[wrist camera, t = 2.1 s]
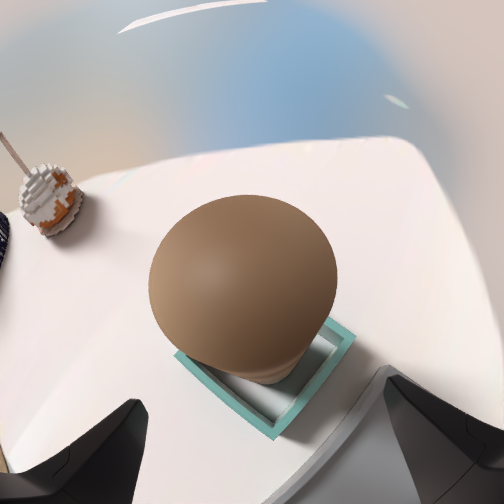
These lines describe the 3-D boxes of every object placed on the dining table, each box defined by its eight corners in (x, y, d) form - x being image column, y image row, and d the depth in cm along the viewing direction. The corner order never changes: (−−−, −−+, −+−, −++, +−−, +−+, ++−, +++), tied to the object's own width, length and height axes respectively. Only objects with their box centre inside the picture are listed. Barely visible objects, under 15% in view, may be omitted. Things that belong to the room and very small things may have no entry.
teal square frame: (274, 433, 16) (273, 440, 14) (187, 361, 19) (173, 355, 17) (346, 344, 19) (356, 336, 16) (259, 281, 22) (256, 265, 20)
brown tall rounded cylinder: (270, 396, 18) (250, 412, 5) (225, 359, 19) (117, 282, 6) (308, 350, 19) (371, 253, 6) (262, 316, 21) (232, 172, 8)
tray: (370, 552, 9) (377, 562, 7) (261, 503, 13) (259, 513, 11) (470, 427, 13) (484, 428, 11) (379, 367, 18) (389, 364, 16)
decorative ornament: (92, 205, 29) (28, 112, 16) (50, 249, 26) (-27, 170, 13) (74, 183, 32) (22, 105, 19) (37, 220, 29) (-23, 150, 16)
